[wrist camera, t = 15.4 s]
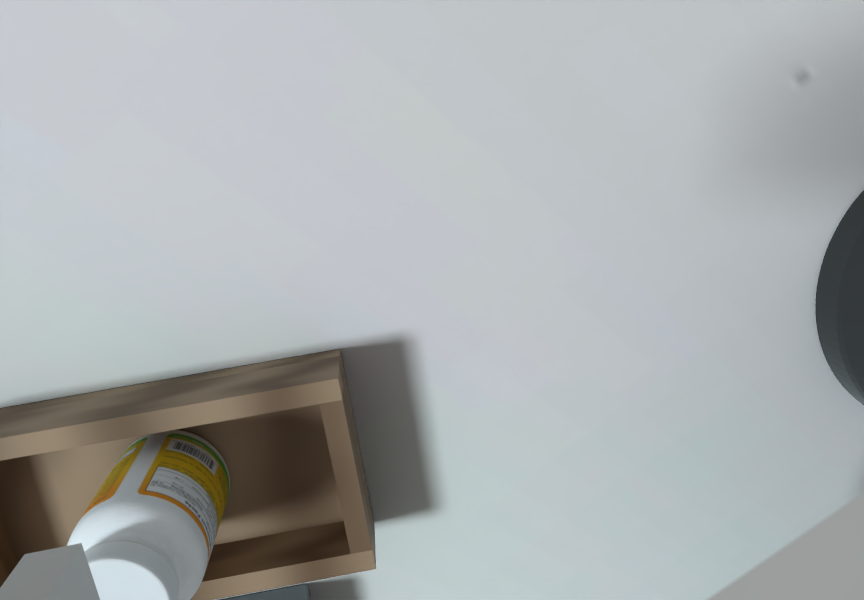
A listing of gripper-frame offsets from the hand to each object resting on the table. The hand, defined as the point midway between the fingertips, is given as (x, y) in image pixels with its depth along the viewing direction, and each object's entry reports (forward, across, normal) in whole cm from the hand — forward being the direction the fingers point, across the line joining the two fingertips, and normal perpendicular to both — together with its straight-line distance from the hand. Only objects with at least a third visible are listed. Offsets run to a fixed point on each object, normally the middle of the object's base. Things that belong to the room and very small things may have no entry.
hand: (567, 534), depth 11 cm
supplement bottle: (+26, +14, +10) cm, 31 cm away
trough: (+26, +14, +10) cm, 32 cm away
